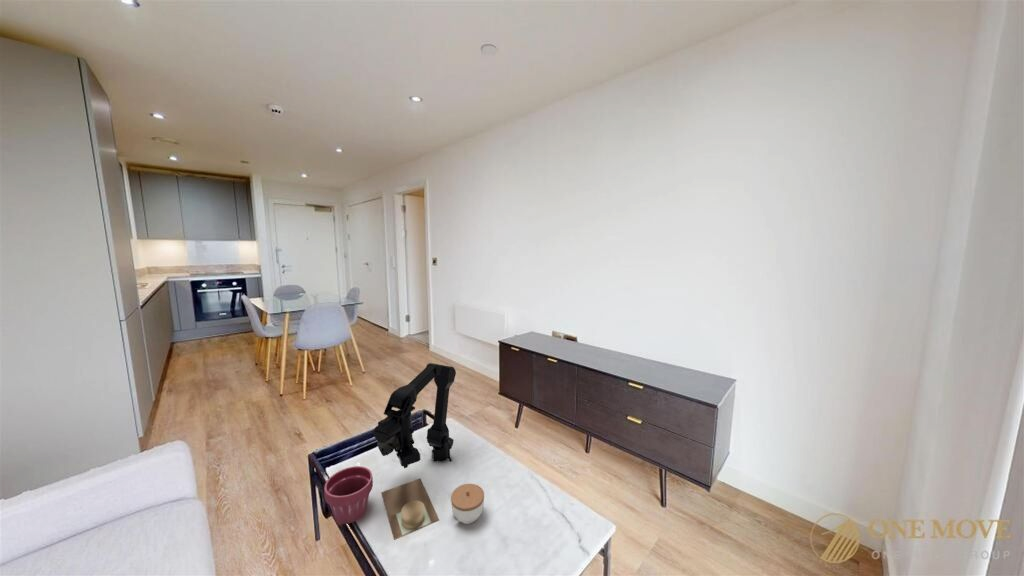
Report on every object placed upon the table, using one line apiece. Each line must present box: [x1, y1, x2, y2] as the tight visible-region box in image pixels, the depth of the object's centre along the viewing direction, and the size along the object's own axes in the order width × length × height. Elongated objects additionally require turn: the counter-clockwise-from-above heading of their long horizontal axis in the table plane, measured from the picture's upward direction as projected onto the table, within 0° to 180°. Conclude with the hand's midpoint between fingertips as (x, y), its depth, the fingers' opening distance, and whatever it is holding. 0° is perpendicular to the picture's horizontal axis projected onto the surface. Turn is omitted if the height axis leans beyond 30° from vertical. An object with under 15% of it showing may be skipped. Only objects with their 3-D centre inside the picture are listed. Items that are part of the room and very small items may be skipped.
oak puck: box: [401, 501, 425, 530], centre depth 106 cm, size 7×7×4 cm
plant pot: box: [323, 465, 374, 527], centre depth 109 cm, size 14×14×13 cm
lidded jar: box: [450, 483, 485, 525], centre depth 109 cm, size 11×11×9 cm
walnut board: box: [380, 478, 440, 541], centre depth 113 cm, size 14×22×1 cm, turn 31°
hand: (405, 467), depth 117 cm, fingers closed
